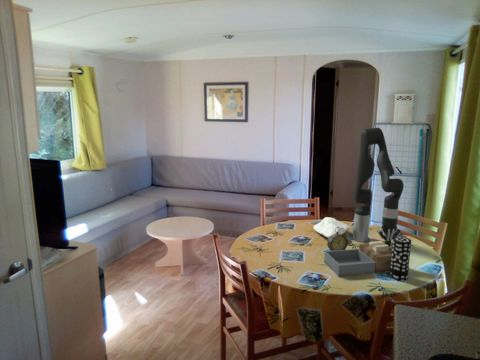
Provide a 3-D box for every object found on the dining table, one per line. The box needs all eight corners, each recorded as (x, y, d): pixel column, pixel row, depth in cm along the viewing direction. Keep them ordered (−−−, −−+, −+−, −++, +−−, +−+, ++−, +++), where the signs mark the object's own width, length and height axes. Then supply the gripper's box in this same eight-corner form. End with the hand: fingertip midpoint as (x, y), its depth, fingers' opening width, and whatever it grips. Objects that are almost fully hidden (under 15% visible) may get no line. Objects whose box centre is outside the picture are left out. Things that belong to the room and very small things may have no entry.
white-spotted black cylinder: (402, 273, 186) (406, 236, 182) (410, 280, 178) (414, 242, 174) (386, 273, 186) (390, 236, 182) (394, 281, 178) (397, 242, 174)
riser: (358, 258, 204) (359, 243, 202) (381, 256, 206) (382, 241, 204) (375, 273, 186) (377, 256, 184) (400, 270, 189) (401, 254, 187)
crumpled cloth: (345, 224, 257) (344, 212, 256) (357, 242, 223) (355, 228, 221) (312, 228, 260) (310, 216, 258) (318, 246, 226) (317, 233, 224)
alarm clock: (330, 256, 207) (331, 229, 203) (325, 252, 212) (326, 226, 208) (347, 254, 210) (348, 227, 206) (342, 250, 215) (343, 224, 211)
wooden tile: (369, 247, 197) (369, 241, 196) (380, 246, 198) (381, 241, 198) (376, 252, 190) (376, 246, 190) (388, 251, 191) (388, 245, 191)
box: (324, 261, 200) (324, 251, 199) (357, 258, 204) (358, 248, 202) (338, 276, 183) (339, 265, 181) (374, 273, 186) (375, 262, 185)
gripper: (397, 212, 196) (394, 243, 200) (374, 214, 194) (372, 244, 197) (405, 217, 189) (402, 248, 192) (382, 218, 186) (380, 250, 190)
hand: (387, 246), depth 195 cm, fingers closed
